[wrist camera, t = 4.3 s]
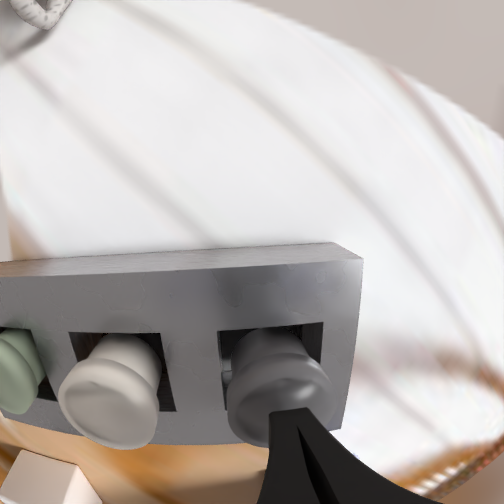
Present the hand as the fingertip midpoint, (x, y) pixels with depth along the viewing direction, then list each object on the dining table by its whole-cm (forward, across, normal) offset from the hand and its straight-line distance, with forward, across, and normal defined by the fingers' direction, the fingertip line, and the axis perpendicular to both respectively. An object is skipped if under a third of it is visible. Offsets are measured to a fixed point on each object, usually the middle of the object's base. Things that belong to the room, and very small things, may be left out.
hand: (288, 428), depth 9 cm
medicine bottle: (+8, +20, +17) cm, 27 cm away
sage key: (+6, +14, 0) cm, 15 cm away
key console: (+7, +7, 0) cm, 10 cm away
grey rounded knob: (+5, 0, 0) cm, 5 cm away
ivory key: (+5, +7, 0) cm, 8 cm away
